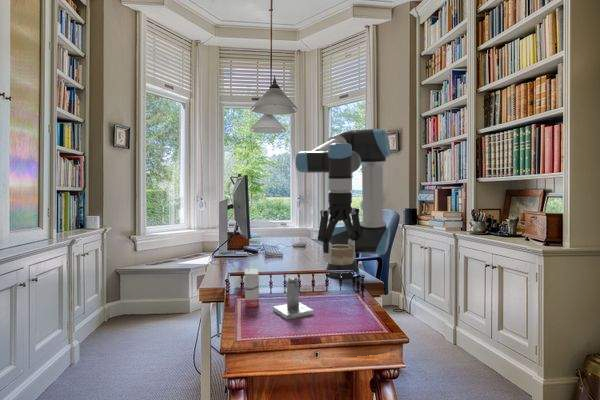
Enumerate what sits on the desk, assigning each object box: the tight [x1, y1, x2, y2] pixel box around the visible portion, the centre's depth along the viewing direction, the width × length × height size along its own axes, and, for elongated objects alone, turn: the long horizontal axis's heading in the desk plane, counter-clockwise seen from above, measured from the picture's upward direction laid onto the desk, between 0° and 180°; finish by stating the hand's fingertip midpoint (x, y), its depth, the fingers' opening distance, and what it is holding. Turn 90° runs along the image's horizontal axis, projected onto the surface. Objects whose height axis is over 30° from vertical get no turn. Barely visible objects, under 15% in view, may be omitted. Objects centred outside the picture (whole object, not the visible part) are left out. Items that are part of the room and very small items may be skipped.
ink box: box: [244, 268, 260, 308], centre depth 153 cm, size 9×5×12 cm, turn 5°
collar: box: [332, 244, 354, 265], centre depth 139 cm, size 8×8×5 cm
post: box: [272, 277, 315, 321], centre depth 143 cm, size 10×10×12 cm
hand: (340, 261), depth 140 cm, fingers closed on collar, 8 cm apart
